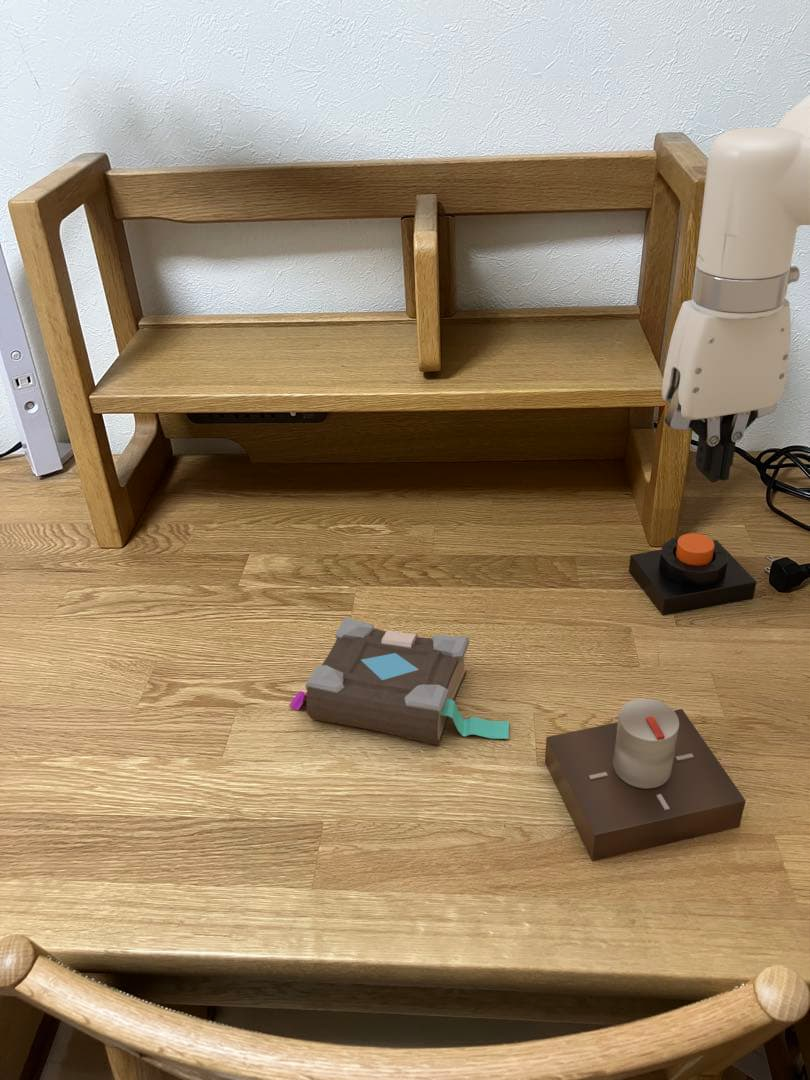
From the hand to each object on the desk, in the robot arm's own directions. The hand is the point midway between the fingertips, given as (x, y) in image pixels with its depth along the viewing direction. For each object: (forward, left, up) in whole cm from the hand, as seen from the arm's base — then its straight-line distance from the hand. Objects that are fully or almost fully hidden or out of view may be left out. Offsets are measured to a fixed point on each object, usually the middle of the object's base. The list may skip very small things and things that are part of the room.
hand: (712, 474), depth 87 cm
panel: (+18, +24, -13) cm, 33 cm away
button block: (+1, 0, -13) cm, 13 cm away
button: (+1, 0, -10) cm, 10 cm away
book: (+33, +8, -13) cm, 36 cm away
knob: (+18, +24, -10) cm, 31 cm away
